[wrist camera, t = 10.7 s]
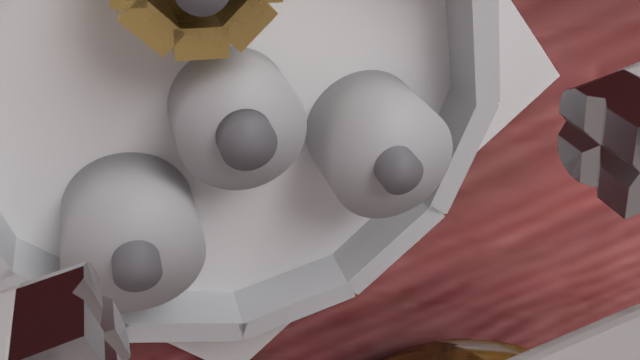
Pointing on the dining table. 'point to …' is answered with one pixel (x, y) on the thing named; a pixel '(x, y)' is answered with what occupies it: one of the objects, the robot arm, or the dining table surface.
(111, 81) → the carrier board
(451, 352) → the bowl
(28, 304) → the robot arm
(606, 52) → the dining table surface
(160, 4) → the wooden octagonal ring
